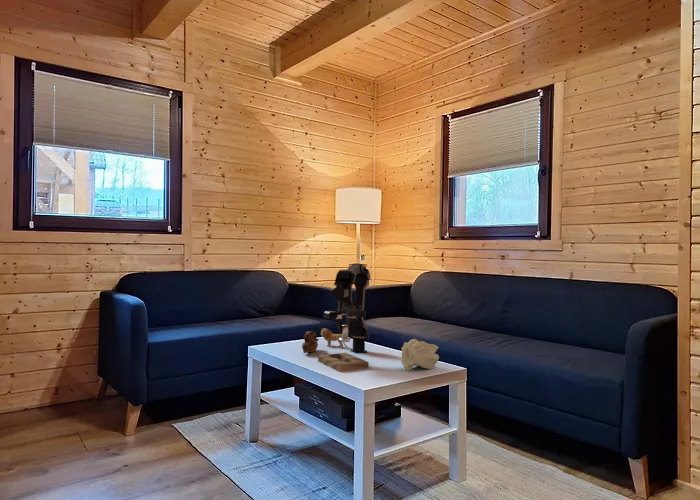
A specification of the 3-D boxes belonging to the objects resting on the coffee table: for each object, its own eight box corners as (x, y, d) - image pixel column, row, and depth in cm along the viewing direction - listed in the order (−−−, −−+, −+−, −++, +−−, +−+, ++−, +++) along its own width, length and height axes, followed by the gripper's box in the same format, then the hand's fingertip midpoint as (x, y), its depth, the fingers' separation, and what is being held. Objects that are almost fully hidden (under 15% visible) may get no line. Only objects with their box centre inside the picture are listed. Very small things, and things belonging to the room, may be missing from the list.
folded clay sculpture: (419, 381, 211) (425, 346, 218) (440, 380, 201) (445, 344, 207) (387, 368, 204) (394, 333, 210) (407, 366, 193) (414, 329, 200)
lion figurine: (318, 346, 248) (319, 328, 248) (322, 344, 253) (323, 327, 253) (345, 348, 243) (346, 331, 243) (349, 346, 248) (349, 329, 248)
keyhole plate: (317, 361, 215) (318, 355, 215) (345, 358, 222) (345, 352, 222) (339, 371, 198) (339, 365, 198) (368, 368, 205) (368, 362, 205)
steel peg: (336, 340, 216) (337, 324, 216) (346, 339, 218) (346, 324, 218) (342, 342, 212) (342, 326, 212) (352, 341, 214) (352, 325, 214)
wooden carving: (310, 356, 225) (311, 334, 225) (301, 355, 226) (301, 334, 226) (319, 349, 241) (320, 329, 241) (311, 348, 242) (311, 328, 242)
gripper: (336, 301, 203) (335, 338, 203) (372, 299, 213) (371, 334, 213) (323, 298, 213) (322, 333, 213) (359, 297, 223) (358, 331, 223)
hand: (344, 333), depth 215 cm, fingers closed on steel peg, 3 cm apart
